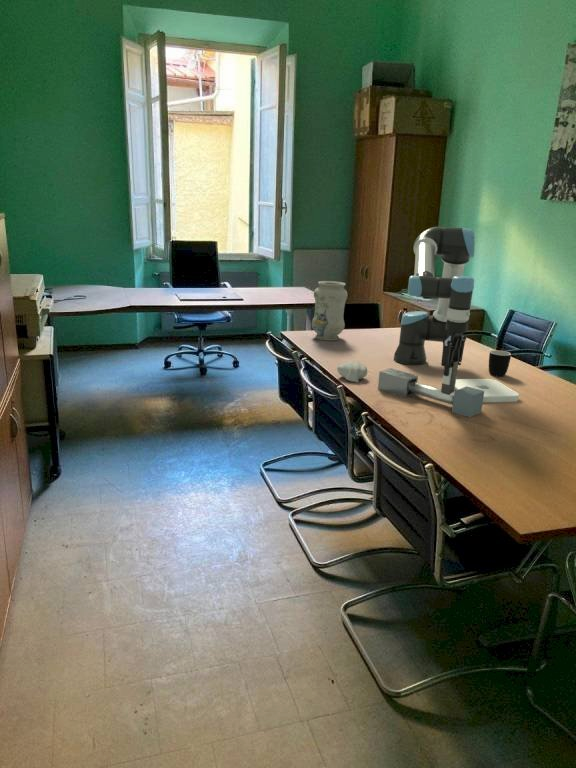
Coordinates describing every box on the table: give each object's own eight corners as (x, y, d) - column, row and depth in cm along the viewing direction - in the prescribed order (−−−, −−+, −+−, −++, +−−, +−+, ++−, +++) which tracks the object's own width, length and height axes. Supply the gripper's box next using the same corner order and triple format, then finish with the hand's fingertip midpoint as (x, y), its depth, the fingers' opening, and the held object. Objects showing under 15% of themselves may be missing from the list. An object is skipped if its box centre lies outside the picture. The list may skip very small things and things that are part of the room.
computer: (521, 402, 223) (522, 395, 222) (468, 403, 219) (469, 396, 218) (492, 384, 244) (493, 378, 243) (444, 385, 240) (445, 379, 239)
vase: (327, 332, 322) (330, 279, 313) (351, 339, 310) (355, 283, 301) (304, 336, 311) (307, 281, 301) (328, 343, 298) (331, 285, 289)
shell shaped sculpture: (345, 371, 251) (347, 357, 249) (371, 377, 244) (373, 363, 242) (330, 378, 241) (331, 363, 239) (356, 384, 234) (358, 369, 232)
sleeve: (377, 389, 230) (379, 371, 227) (388, 385, 235) (390, 368, 233) (405, 397, 221) (407, 379, 219) (416, 393, 227) (418, 375, 224)
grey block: (451, 412, 208) (454, 391, 206) (463, 406, 214) (466, 386, 212) (469, 417, 204) (473, 396, 201) (481, 411, 210) (484, 390, 207)
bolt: (401, 391, 224) (406, 351, 219) (407, 389, 227) (412, 349, 222) (463, 409, 207) (469, 366, 202) (468, 406, 210) (475, 364, 205)
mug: (510, 378, 252) (513, 356, 249) (489, 376, 253) (492, 354, 250) (502, 370, 263) (506, 349, 260) (482, 369, 264) (486, 347, 261)
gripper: (455, 325, 196) (446, 389, 203) (478, 319, 208) (468, 380, 215) (436, 321, 201) (428, 384, 208) (459, 315, 212) (450, 376, 220)
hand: (448, 382), depth 212 cm, fingers closed on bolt, 3 cm apart
